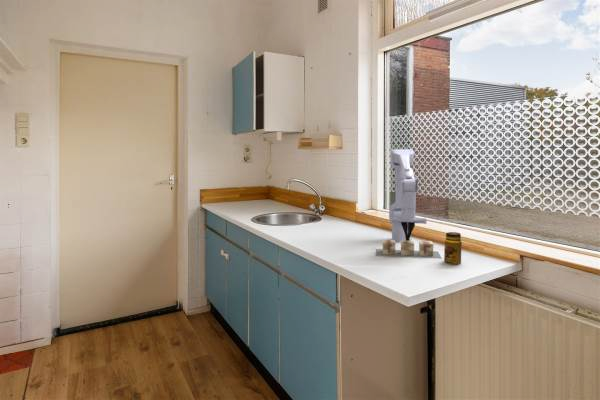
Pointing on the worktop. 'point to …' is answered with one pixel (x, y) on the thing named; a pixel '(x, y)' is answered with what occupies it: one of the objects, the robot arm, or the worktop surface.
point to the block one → (389, 247)
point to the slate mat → (416, 255)
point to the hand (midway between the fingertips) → (407, 240)
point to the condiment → (452, 248)
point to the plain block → (407, 247)
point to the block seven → (425, 248)
